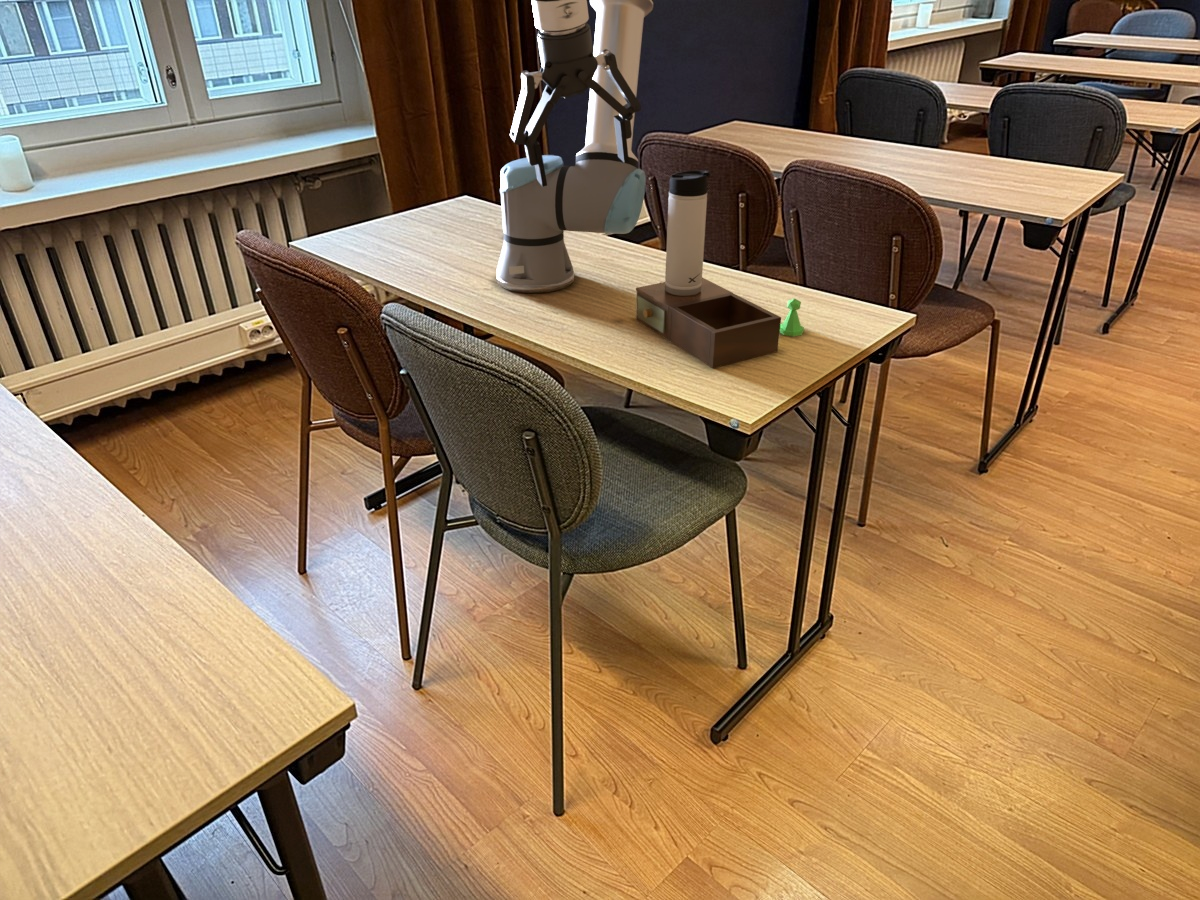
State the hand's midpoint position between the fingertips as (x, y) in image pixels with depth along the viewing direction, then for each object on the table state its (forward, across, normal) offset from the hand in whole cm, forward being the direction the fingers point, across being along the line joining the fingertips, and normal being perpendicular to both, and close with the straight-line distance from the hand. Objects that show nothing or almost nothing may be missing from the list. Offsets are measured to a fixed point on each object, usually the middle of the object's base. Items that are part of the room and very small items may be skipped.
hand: (583, 171), depth 133 cm
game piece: (+30, +28, -17) cm, 45 cm away
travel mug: (+23, +13, -6) cm, 27 cm away
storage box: (+28, +13, -14) cm, 34 cm away
